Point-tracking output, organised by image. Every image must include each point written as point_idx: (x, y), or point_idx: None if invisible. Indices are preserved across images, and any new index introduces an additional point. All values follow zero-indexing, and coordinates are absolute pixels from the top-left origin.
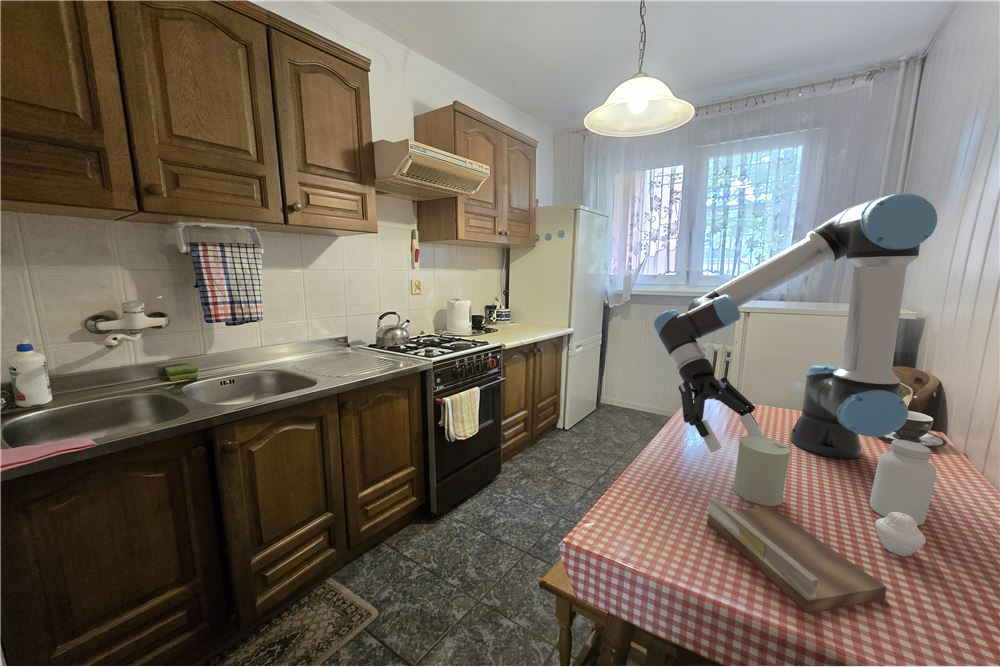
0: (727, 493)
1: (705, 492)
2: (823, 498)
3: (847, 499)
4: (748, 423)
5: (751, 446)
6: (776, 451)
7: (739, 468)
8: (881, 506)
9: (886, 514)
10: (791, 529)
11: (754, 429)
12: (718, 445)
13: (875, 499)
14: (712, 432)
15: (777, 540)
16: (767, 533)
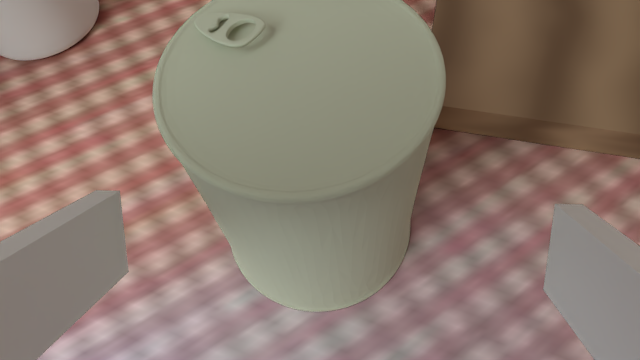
0: (444, 269)
1: (542, 312)
2: (124, 123)
3: (61, 97)
4: (31, 298)
5: (405, 80)
6: (320, 4)
7: (410, 208)
8: (81, 4)
9: (94, 7)
10: (474, 19)
11: (70, 246)
12: (586, 210)
13: (62, 11)
14: (628, 255)
15: (565, 5)
16: (568, 28)
